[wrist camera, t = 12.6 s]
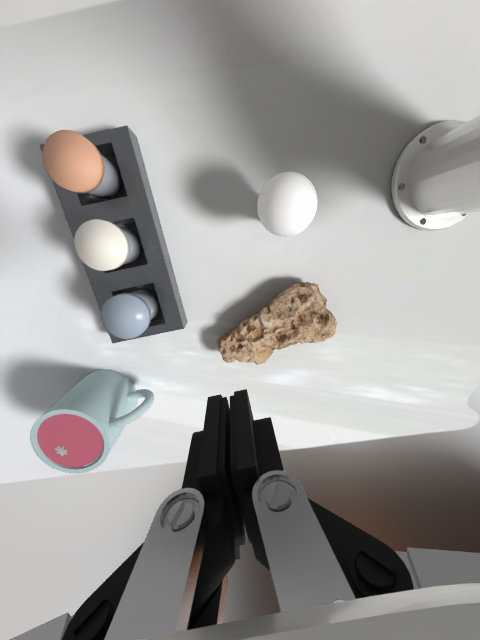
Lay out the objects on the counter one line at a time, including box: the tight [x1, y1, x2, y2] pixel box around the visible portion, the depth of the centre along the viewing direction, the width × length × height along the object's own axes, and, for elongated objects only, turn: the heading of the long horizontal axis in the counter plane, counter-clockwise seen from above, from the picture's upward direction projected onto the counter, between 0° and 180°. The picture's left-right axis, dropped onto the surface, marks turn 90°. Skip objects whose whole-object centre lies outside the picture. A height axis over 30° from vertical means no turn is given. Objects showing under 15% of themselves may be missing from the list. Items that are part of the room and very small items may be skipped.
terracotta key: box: [43, 130, 121, 198], centre depth 28 cm, size 5×5×6 cm
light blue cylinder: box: [101, 290, 159, 339], centre depth 32 cm, size 5×5×6 cm
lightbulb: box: [257, 171, 317, 237], centre depth 29 cm, size 6×6×11 cm
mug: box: [30, 370, 154, 473], centre depth 35 cm, size 14×9×10 cm
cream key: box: [74, 219, 141, 271], centre depth 30 cm, size 5×5×6 cm
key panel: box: [40, 126, 187, 343], centre depth 33 cm, size 10×24×3 cm, turn 11°
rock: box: [217, 282, 337, 365], centre depth 37 cm, size 17×5×10 cm
